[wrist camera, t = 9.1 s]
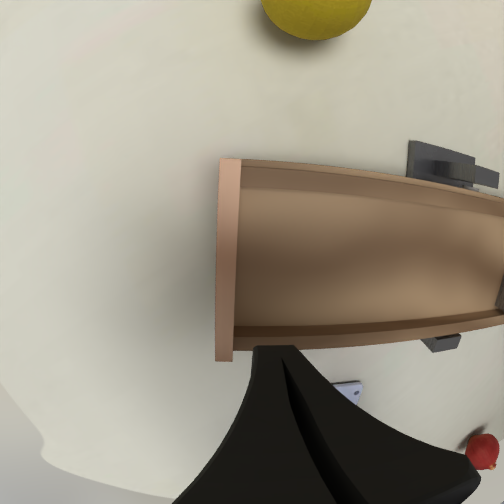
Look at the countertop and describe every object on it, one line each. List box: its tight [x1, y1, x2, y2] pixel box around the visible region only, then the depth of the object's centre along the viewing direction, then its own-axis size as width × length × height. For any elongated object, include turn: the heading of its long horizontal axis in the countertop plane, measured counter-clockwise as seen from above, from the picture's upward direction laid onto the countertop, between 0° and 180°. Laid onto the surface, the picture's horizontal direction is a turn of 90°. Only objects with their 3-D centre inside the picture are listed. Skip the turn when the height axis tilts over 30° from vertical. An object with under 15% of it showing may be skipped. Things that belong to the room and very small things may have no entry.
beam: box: [215, 158, 504, 362], centre depth 15 cm, size 9×26×3 cm, turn 87°
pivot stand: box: [406, 141, 499, 353], centre depth 17 cm, size 14×6×5 cm, turn 177°
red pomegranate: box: [465, 434, 499, 470], centre depth 27 cm, size 6×6×8 cm
